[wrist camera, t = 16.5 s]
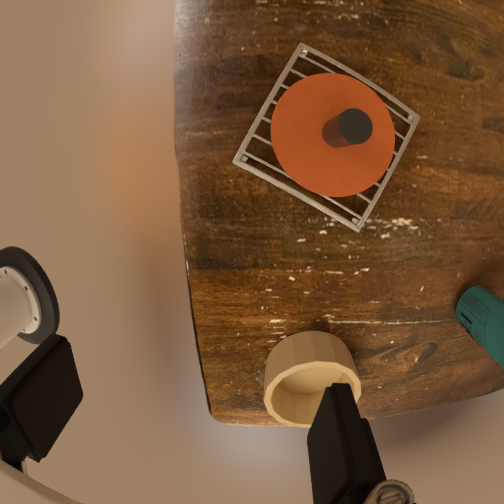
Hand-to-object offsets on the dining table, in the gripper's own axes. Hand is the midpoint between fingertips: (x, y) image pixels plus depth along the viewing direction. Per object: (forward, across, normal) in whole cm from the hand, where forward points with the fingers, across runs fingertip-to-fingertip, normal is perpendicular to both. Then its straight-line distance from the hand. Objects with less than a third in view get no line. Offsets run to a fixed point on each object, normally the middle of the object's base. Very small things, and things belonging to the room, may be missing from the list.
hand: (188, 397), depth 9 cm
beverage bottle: (+25, -33, +5) cm, 41 cm away
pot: (+25, -11, +17) cm, 32 cm away
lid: (+22, -8, -12) cm, 26 cm away
